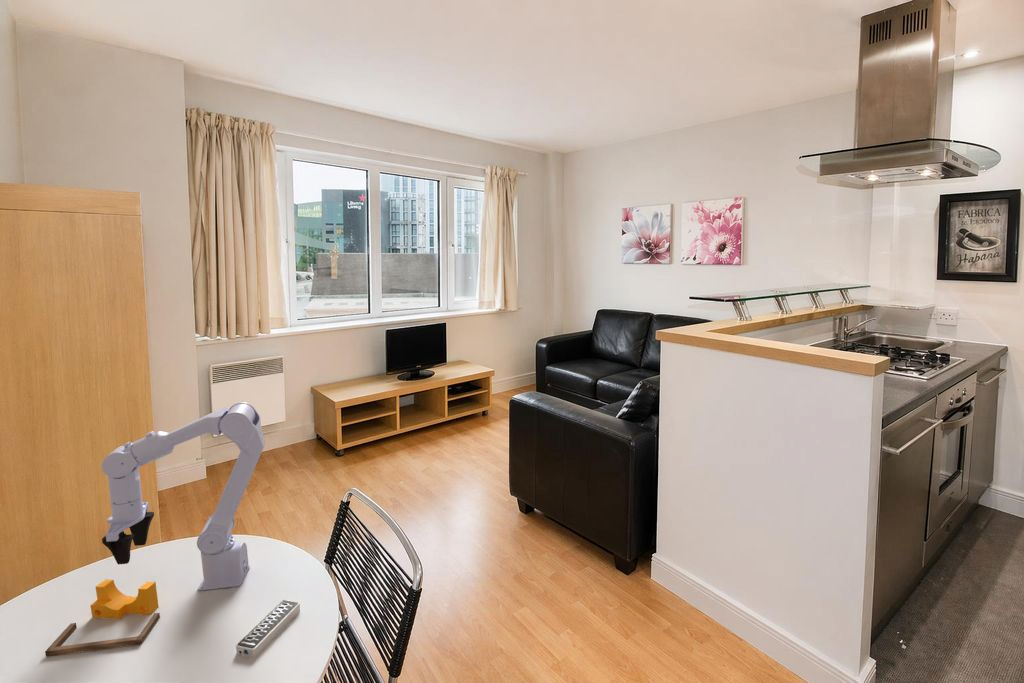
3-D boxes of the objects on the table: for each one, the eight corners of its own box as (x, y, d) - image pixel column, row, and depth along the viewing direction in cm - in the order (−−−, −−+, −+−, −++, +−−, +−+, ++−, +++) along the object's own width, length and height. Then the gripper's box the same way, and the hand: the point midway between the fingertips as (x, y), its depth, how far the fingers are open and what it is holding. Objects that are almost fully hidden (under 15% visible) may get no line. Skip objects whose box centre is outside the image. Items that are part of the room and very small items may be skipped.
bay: (160, 617, 113) (159, 612, 113) (141, 644, 105) (141, 639, 105) (71, 628, 109) (70, 623, 109) (45, 656, 102) (44, 651, 102)
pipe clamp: (92, 618, 113) (88, 591, 112) (109, 605, 117) (105, 579, 116) (143, 621, 112) (140, 594, 111) (158, 607, 116) (155, 581, 115)
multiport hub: (301, 611, 115) (300, 602, 115) (254, 660, 101) (253, 649, 101) (284, 608, 116) (283, 599, 116) (235, 655, 102) (234, 645, 102)
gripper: (123, 486, 123) (129, 538, 125) (87, 515, 109) (94, 574, 111) (156, 484, 124) (161, 536, 127) (124, 513, 110) (130, 570, 113)
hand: (132, 553), depth 119 cm, fingers open, 7 cm apart
